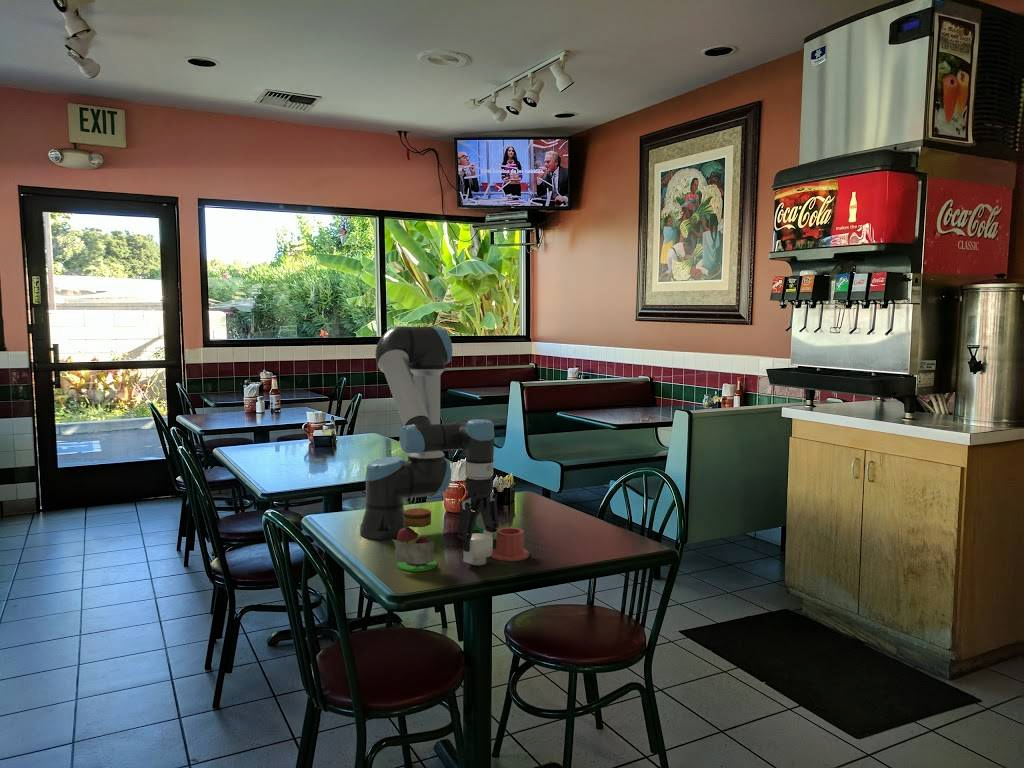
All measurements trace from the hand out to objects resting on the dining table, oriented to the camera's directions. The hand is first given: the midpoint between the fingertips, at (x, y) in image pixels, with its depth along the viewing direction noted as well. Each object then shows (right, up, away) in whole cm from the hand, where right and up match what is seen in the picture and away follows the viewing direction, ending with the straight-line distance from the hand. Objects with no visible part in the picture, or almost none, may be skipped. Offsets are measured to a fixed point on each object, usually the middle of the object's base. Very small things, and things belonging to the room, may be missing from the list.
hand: (478, 558), depth 206 cm
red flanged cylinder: (+9, -1, +8) cm, 12 cm away
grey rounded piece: (0, -1, 0) cm, 1 cm away
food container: (+1, 0, +22) cm, 22 cm away
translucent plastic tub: (-17, -2, -2) cm, 17 cm away
